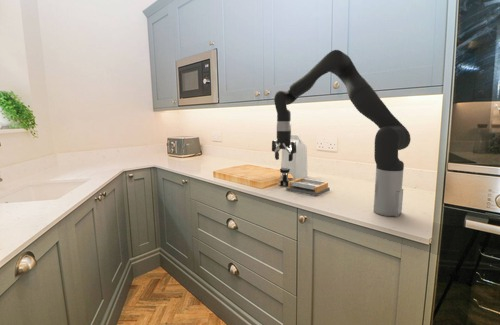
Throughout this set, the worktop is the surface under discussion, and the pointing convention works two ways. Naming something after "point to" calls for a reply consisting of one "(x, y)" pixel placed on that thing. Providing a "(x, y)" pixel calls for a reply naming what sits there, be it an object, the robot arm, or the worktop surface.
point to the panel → (316, 192)
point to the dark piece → (284, 176)
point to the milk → (296, 159)
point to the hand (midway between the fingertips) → (283, 160)
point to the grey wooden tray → (307, 183)
